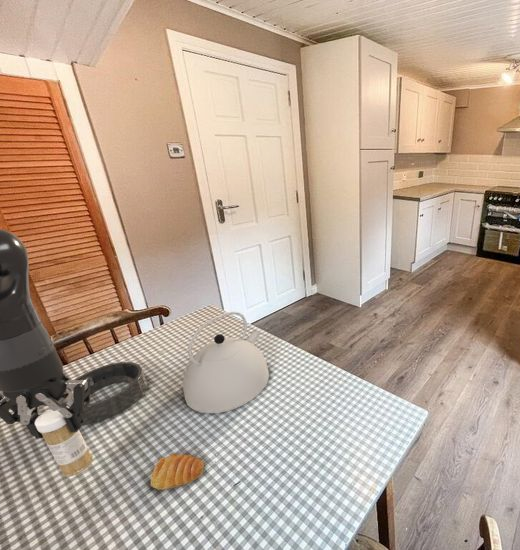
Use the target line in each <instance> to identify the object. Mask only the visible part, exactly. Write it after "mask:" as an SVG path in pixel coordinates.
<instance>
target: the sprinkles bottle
mask: <svg viewBox="0 0 520 550" xmlns="http://www.w3.org/2000/svg"><path fill="white" fill-rule="evenodd" d="M67 407H68V406H67ZM68 408H69V407H68ZM40 414H41V415H40V416H38V418H37V419H36V420H35V426H36V428H37V430H38V431H39V432H40V433H41V434H42V436H43V439H44V441H45V443H46V444H45V445H46V446H47V448H48V450H49V451H50V453H51V455H52V456H53V458H54V461H55V462H56V464H57V466H59V469H60V470H61V474H62V475H63V476H64V477H67V478H68V477H74V476H76V475H78V474H81V473H82V472H84V471H85V470H87V468H89V467H90V465H91V464H92V463H93V461H94V456H93V455H92V454H91V451H90V450H89V448H88V446H87V443H86V440H85V439H84V437H83V433H81V431H80V429H79V430H78V431H77V432H73V433H71V431H70V429H69V427H68V425H67V423H66V421H65V419H64V418H65V417H64V416H63V415H62V414H61V413H59V412H58V411H53V410H52V409H51V408H49V409H47V410H45V411H44V412H42V413H40Z"/></svg>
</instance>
